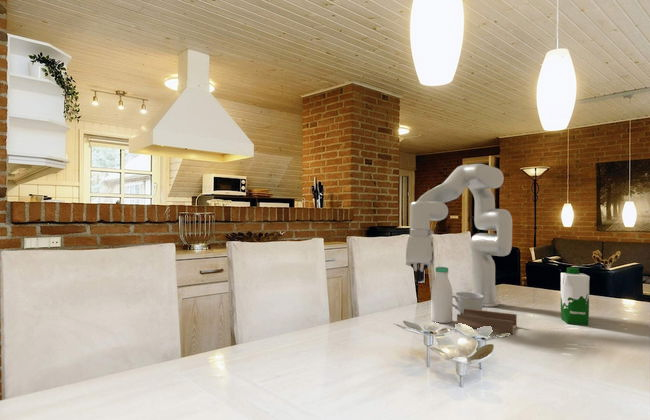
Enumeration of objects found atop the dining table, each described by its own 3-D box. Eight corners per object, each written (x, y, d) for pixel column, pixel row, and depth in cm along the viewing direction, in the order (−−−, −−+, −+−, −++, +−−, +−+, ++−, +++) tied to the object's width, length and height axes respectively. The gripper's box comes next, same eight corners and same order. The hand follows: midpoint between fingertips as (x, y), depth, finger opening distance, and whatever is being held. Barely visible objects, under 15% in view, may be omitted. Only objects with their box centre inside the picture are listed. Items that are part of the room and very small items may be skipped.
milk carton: (583, 320, 162) (583, 267, 162) (592, 326, 153) (592, 270, 153) (558, 318, 164) (558, 266, 164) (565, 324, 155) (565, 269, 155)
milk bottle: (453, 324, 154) (453, 269, 154) (431, 323, 155) (431, 268, 155) (451, 319, 161) (451, 266, 161) (430, 318, 163) (430, 265, 163)
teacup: (479, 311, 175) (479, 292, 175) (486, 317, 164) (486, 297, 164) (444, 310, 177) (445, 291, 177) (450, 316, 166) (450, 296, 166)
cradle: (464, 320, 160) (464, 308, 160) (516, 326, 151) (516, 314, 151) (456, 327, 149) (457, 314, 149) (512, 335, 140) (512, 321, 140)
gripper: (441, 233, 162) (441, 281, 162) (404, 232, 170) (404, 278, 170) (436, 234, 156) (436, 284, 156) (397, 233, 163) (397, 281, 163)
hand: (419, 281), depth 163 cm, fingers closed
